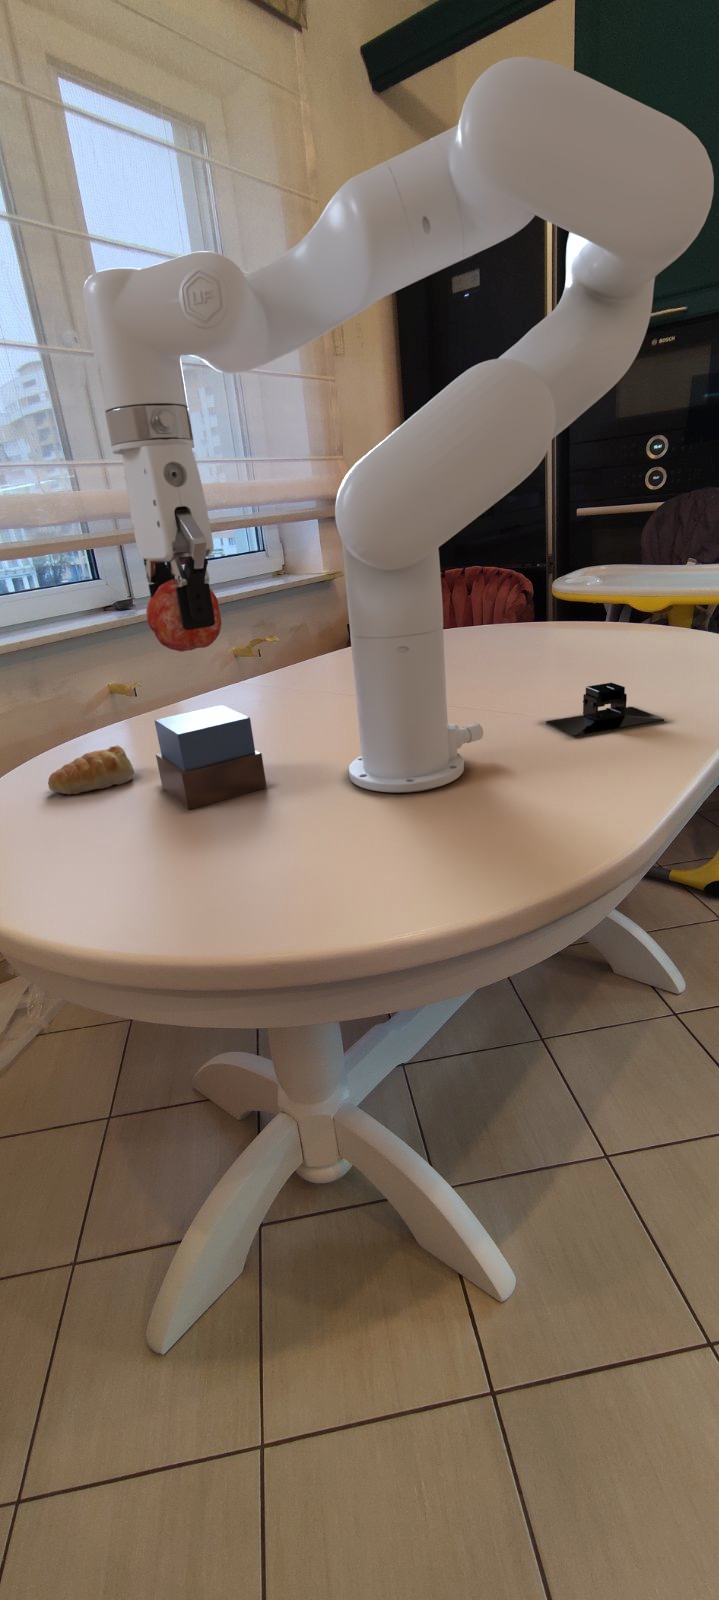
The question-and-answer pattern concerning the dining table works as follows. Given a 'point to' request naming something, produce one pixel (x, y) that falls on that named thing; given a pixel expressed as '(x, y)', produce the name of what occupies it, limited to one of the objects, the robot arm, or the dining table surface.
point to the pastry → (92, 772)
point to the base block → (212, 779)
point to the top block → (205, 737)
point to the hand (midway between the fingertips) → (184, 623)
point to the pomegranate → (178, 621)
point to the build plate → (604, 713)
